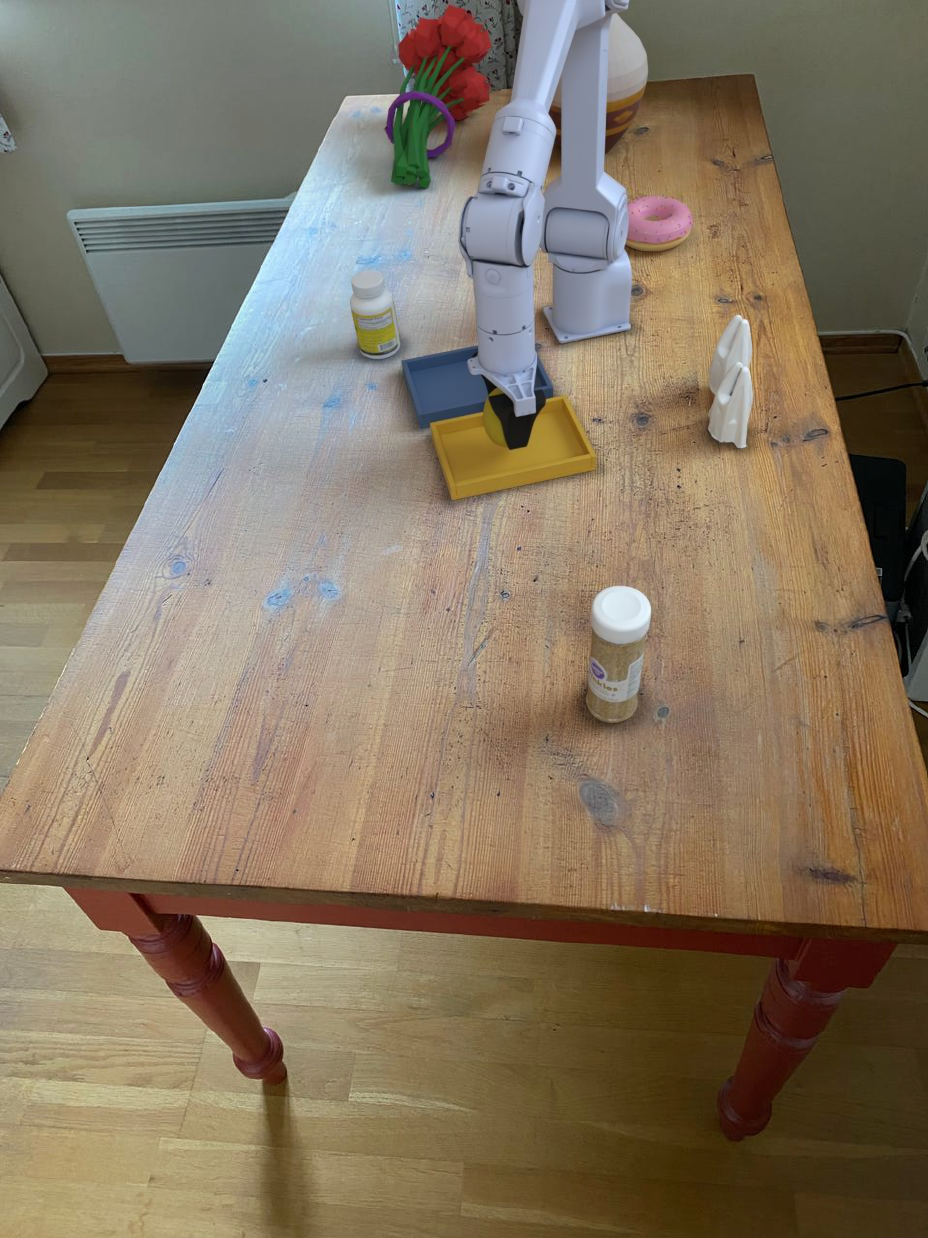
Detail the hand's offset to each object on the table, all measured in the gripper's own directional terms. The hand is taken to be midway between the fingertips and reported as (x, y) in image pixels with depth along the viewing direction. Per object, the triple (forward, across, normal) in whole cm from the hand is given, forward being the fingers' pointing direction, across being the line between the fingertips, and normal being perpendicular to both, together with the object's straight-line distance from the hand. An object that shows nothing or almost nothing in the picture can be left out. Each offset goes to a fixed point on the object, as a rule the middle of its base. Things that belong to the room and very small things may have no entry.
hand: (510, 428), depth 97 cm
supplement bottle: (+4, -25, -11) cm, 28 cm away
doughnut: (+4, -39, +31) cm, 50 cm away
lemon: (+3, 0, 0) cm, 3 cm away
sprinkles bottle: (+4, +35, 0) cm, 35 cm away
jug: (+4, -69, +31) cm, 76 cm away
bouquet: (+4, -78, +7) cm, 79 cm away
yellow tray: (+3, 0, 0) cm, 3 cm away
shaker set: (+4, +1, +25) cm, 25 cm away
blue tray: (+3, -13, -1) cm, 13 cm away
